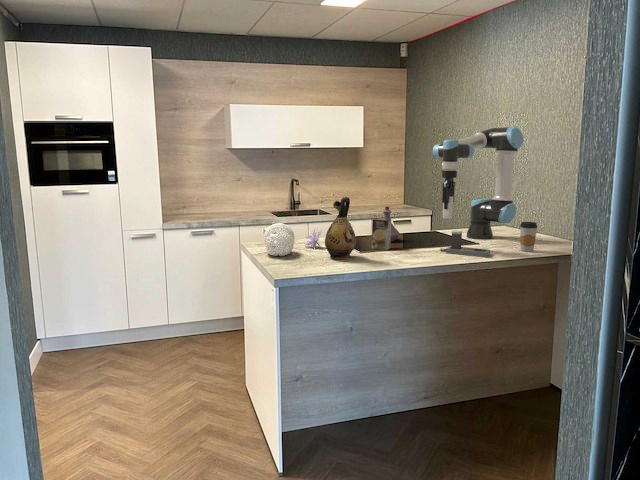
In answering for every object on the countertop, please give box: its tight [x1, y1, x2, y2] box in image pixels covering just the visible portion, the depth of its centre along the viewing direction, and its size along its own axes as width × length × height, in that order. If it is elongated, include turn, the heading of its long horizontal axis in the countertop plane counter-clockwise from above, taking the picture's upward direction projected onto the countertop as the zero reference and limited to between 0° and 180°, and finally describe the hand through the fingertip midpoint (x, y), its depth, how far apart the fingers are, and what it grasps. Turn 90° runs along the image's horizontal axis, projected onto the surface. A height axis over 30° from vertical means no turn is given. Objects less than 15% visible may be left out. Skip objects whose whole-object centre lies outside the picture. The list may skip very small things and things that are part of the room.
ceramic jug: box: [324, 196, 357, 260], centre depth 250 cm, size 17×15×30 cm
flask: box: [382, 206, 401, 243], centre depth 295 cm, size 16×16×20 cm
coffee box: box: [371, 217, 392, 251], centre depth 272 cm, size 9×6×16 cm
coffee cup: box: [519, 221, 538, 253], centre depth 264 cm, size 8×8×15 cm
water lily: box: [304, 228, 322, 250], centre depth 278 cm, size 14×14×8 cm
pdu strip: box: [439, 245, 491, 259], centre depth 257 cm, size 9×24×4 cm, turn 59°
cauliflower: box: [262, 222, 296, 257], centre depth 259 cm, size 20×18×16 cm
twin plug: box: [450, 230, 463, 249], centre depth 258 cm, size 4×4×11 cm
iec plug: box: [442, 197, 454, 219], centre depth 265 cm, size 4×4×11 cm
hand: (447, 214), depth 266 cm, fingers closed on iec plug, 4 cm apart
